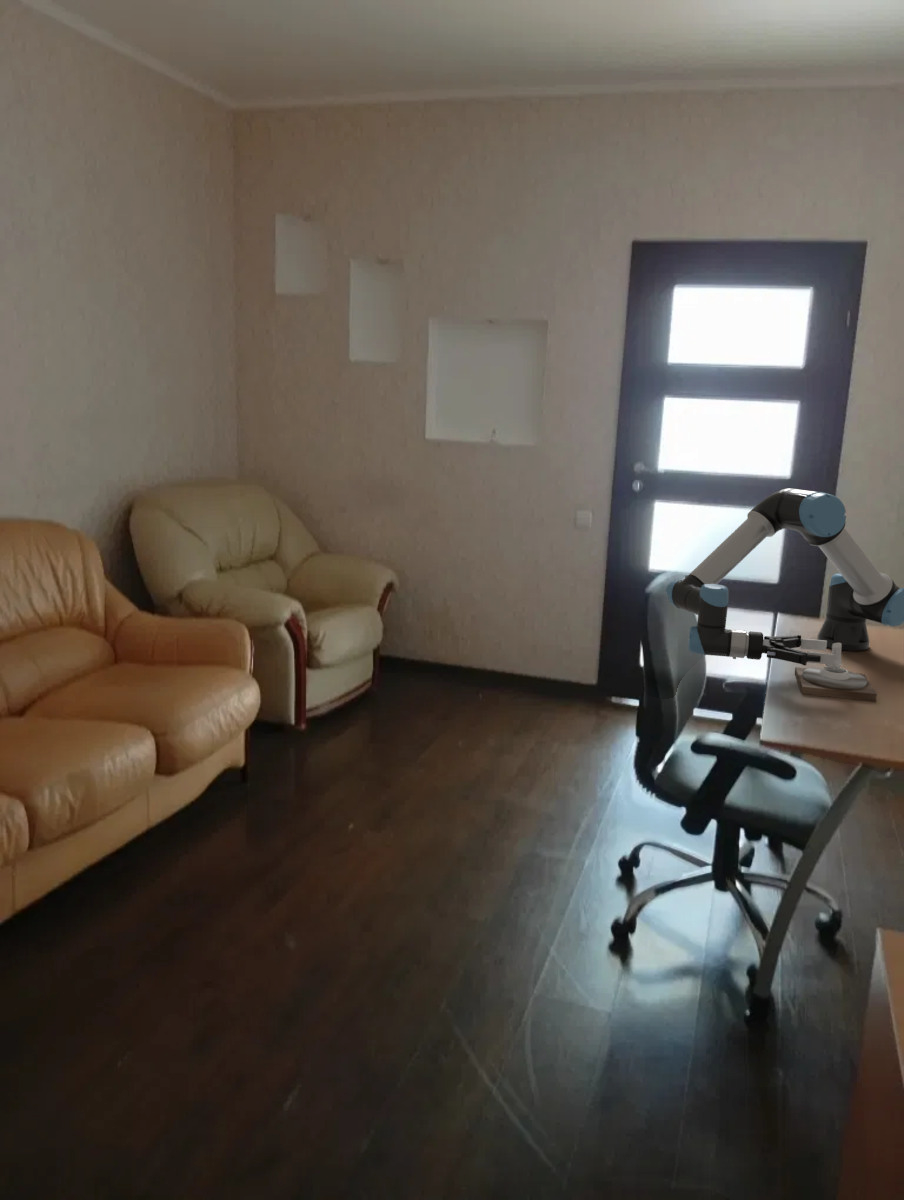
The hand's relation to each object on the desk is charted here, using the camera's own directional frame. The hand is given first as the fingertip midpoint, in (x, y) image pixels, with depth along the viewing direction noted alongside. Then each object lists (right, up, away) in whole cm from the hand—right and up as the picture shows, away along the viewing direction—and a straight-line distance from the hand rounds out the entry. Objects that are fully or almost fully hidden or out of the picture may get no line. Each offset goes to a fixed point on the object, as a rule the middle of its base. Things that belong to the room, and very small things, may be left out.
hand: (830, 652), depth 240 cm
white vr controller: (+2, -7, +2) cm, 7 cm away
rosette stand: (+2, -9, +2) cm, 10 cm away
